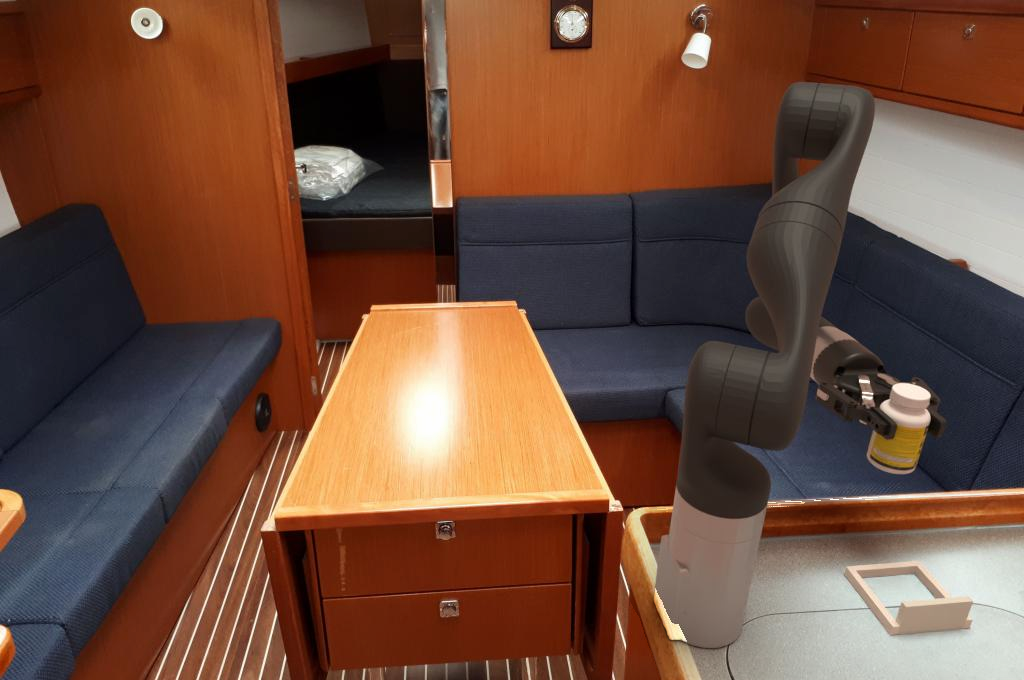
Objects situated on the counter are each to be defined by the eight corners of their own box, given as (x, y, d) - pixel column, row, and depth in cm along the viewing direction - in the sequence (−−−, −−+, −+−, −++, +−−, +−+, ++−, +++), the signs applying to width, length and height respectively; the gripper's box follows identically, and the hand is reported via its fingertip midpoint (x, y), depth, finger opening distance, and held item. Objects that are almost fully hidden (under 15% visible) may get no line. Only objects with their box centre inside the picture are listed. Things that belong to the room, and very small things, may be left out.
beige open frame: (890, 635, 82) (899, 607, 80) (844, 574, 90) (851, 548, 89) (969, 627, 83) (979, 600, 81) (916, 568, 92) (924, 542, 90)
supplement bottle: (921, 478, 85) (944, 405, 81) (871, 472, 86) (891, 399, 82) (908, 453, 90) (929, 382, 86) (861, 447, 91) (879, 377, 87)
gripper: (793, 340, 96) (866, 405, 81) (895, 336, 98) (985, 400, 83) (782, 390, 99) (851, 462, 84) (881, 386, 101) (966, 456, 86)
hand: (917, 431), depth 83 cm, fingers closed on supplement bottle, 5 cm apart
